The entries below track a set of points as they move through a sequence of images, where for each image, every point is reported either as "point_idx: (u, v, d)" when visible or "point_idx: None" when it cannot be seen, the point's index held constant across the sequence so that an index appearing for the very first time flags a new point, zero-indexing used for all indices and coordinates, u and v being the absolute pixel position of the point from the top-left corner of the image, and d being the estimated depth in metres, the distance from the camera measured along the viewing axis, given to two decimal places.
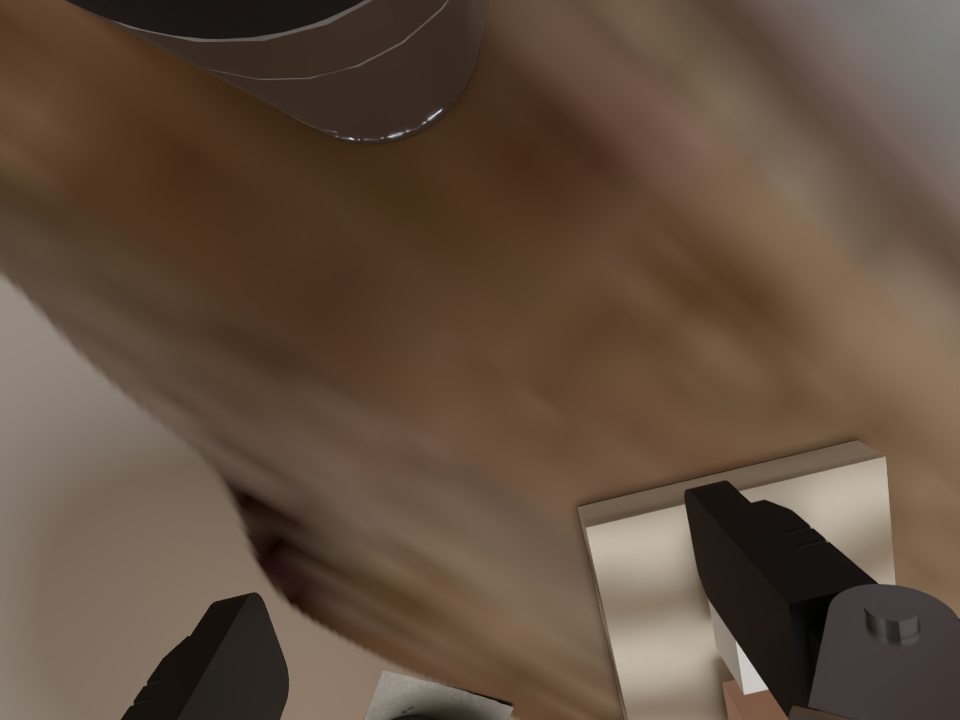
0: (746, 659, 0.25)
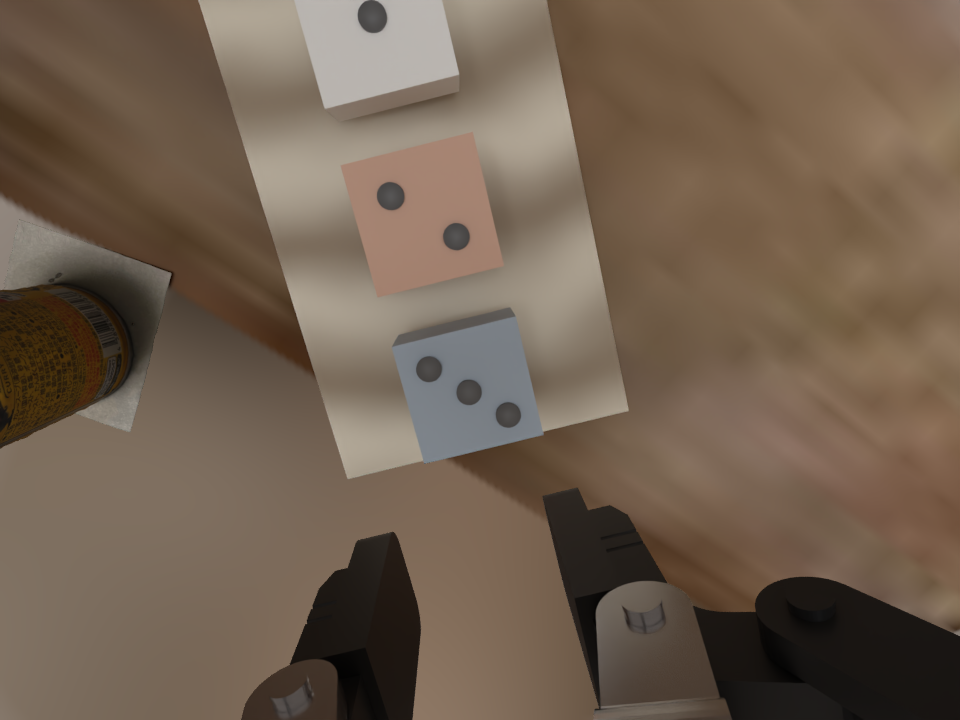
0: (319, 57, 0.22)
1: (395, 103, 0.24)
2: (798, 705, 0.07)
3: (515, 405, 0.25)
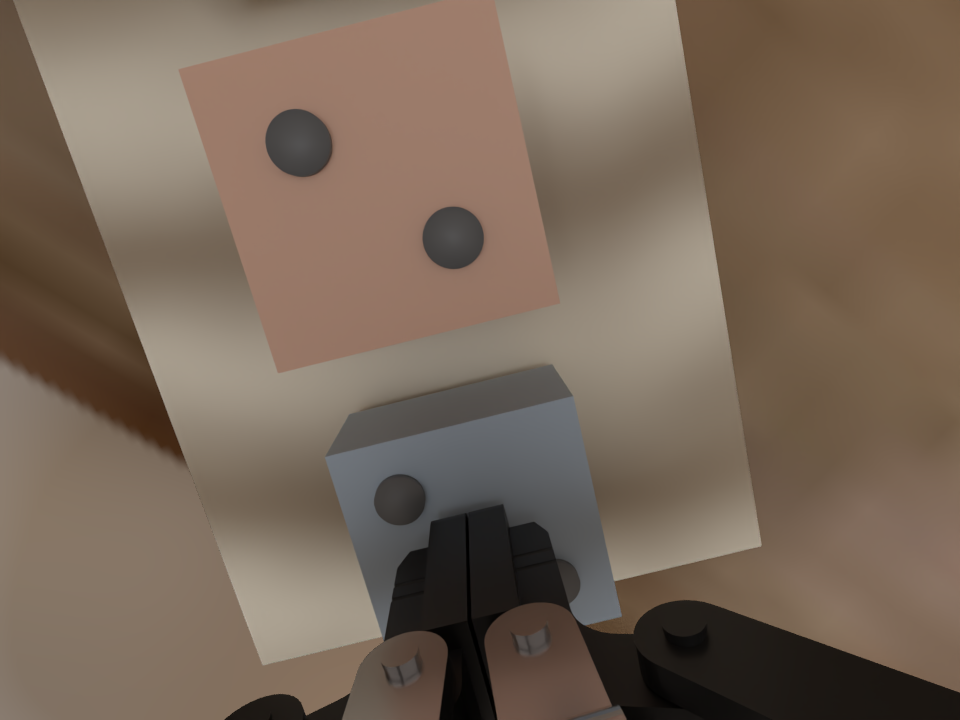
0: None
1: None
2: None
3: (569, 565, 0.13)
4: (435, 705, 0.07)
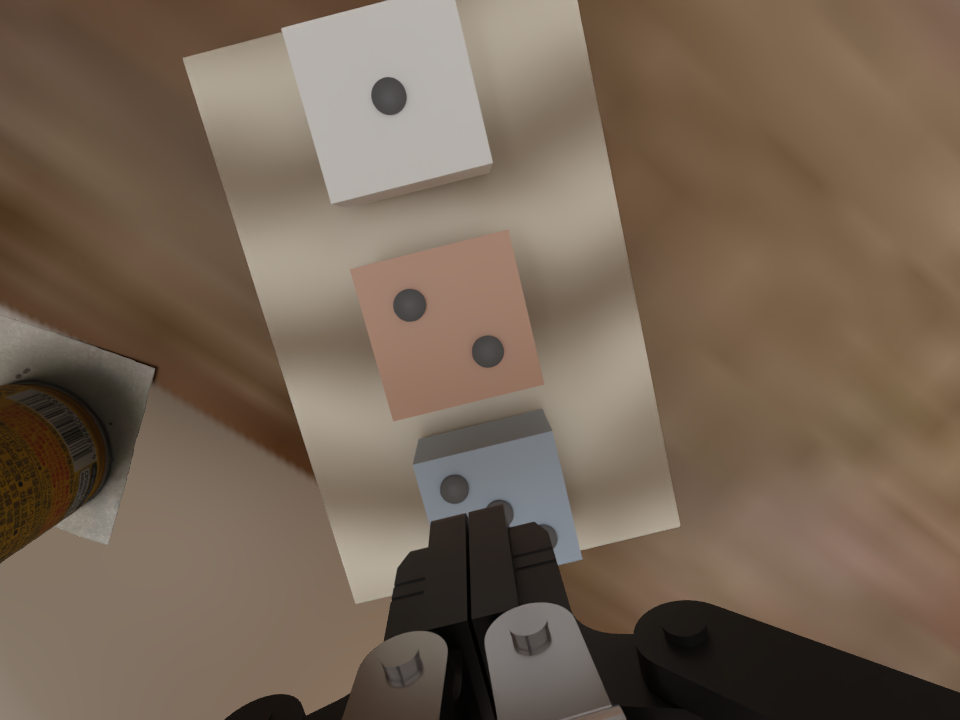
0: (325, 143, 0.18)
1: (414, 189, 0.20)
2: None
3: (551, 528, 0.22)
4: (435, 705, 0.07)
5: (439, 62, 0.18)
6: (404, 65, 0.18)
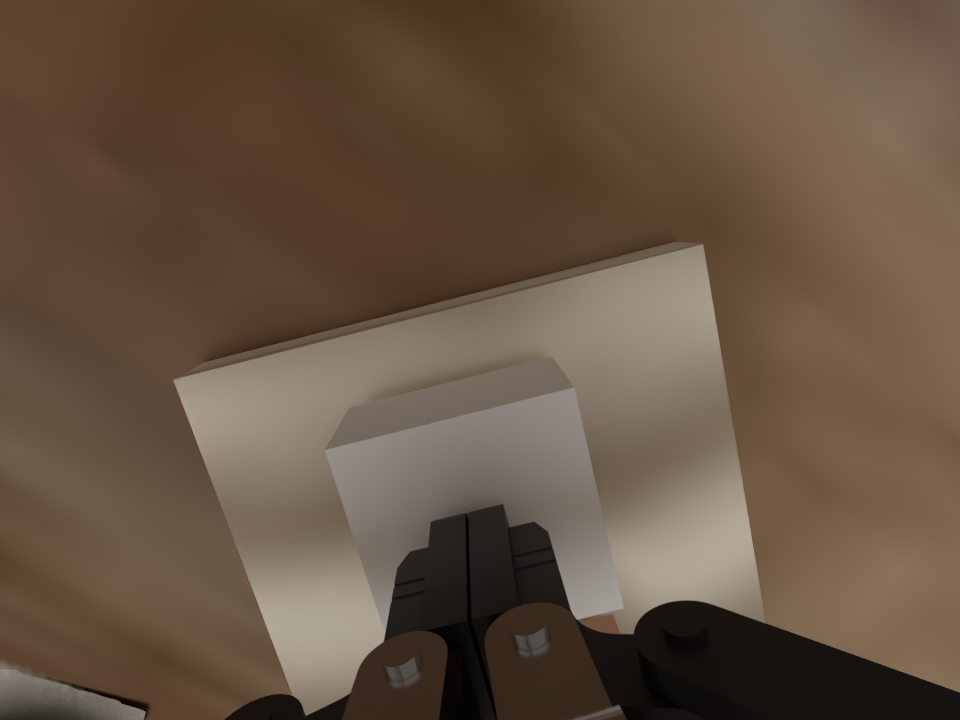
0: (387, 591, 0.13)
1: None
2: None
3: None
4: (435, 705, 0.07)
5: (553, 487, 0.12)
6: (502, 493, 0.12)
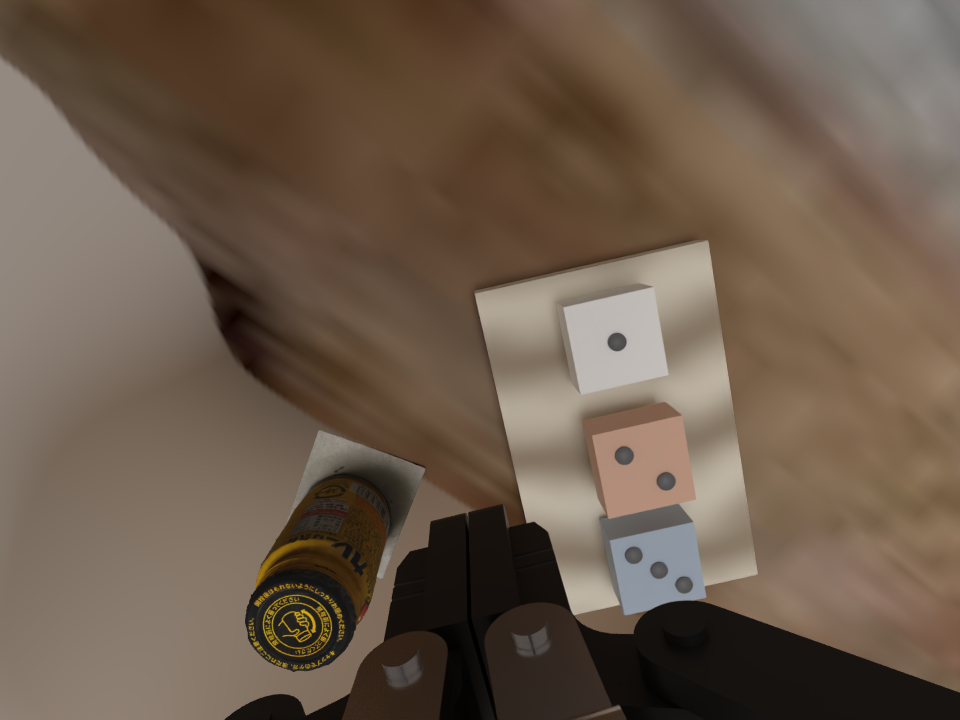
0: (580, 364, 0.34)
1: None
2: None
3: (689, 578, 0.37)
4: (435, 705, 0.07)
5: (644, 324, 0.34)
6: (625, 326, 0.34)
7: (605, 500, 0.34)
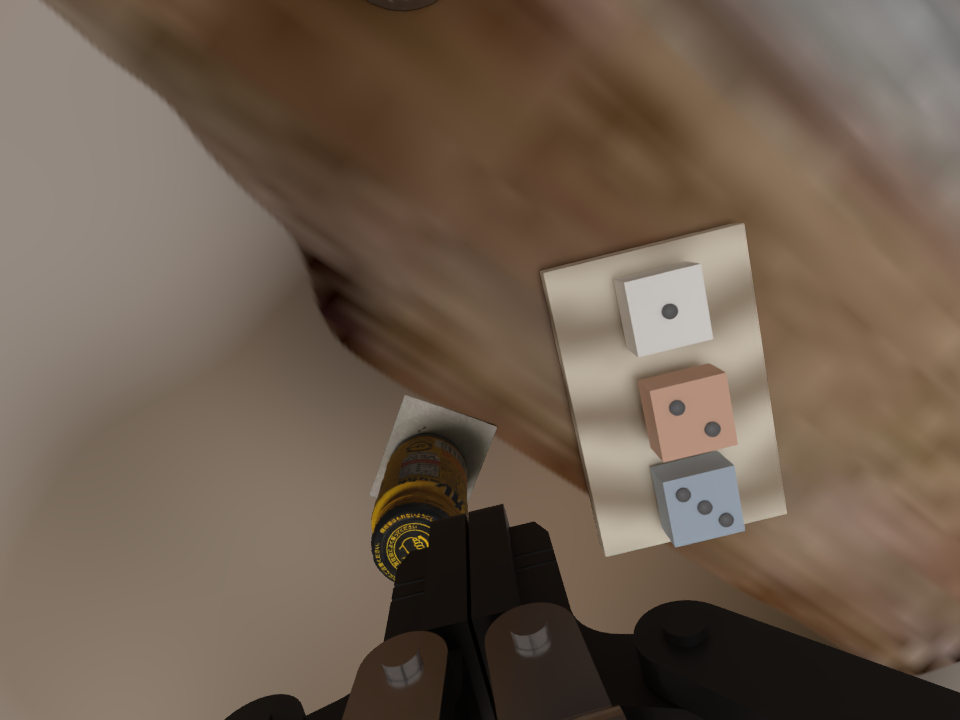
0: (638, 331, 0.40)
1: None
2: None
3: (730, 514, 0.43)
4: (435, 705, 0.07)
5: (692, 296, 0.40)
6: (677, 297, 0.40)
7: (660, 446, 0.40)
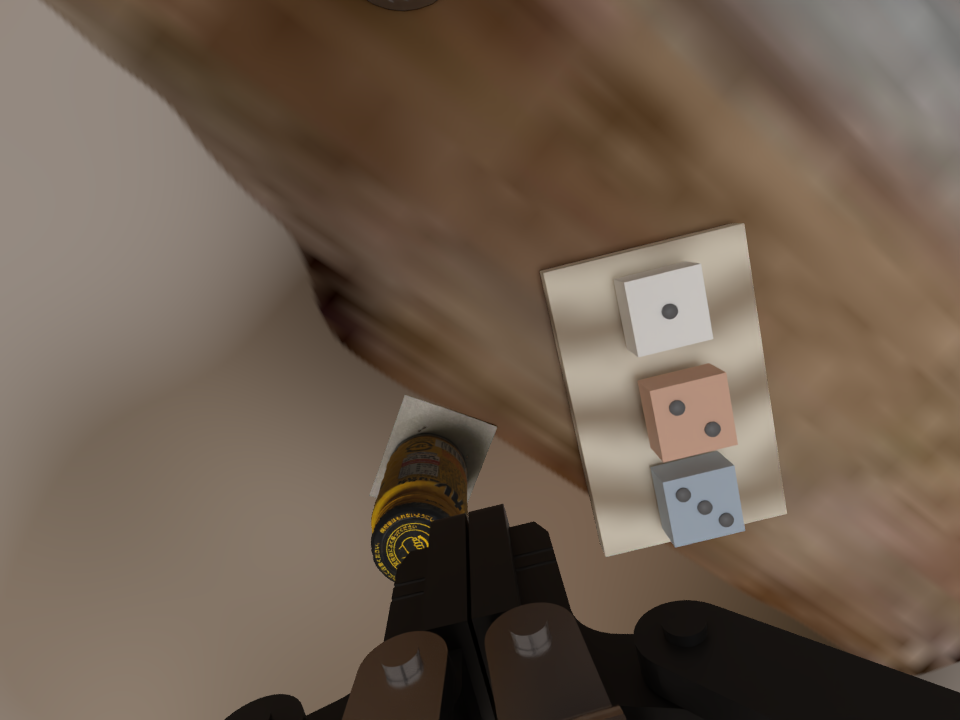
0: (638, 331, 0.40)
1: None
2: None
3: (730, 514, 0.43)
4: (435, 705, 0.07)
5: (692, 296, 0.40)
6: (677, 297, 0.40)
7: (660, 446, 0.40)
